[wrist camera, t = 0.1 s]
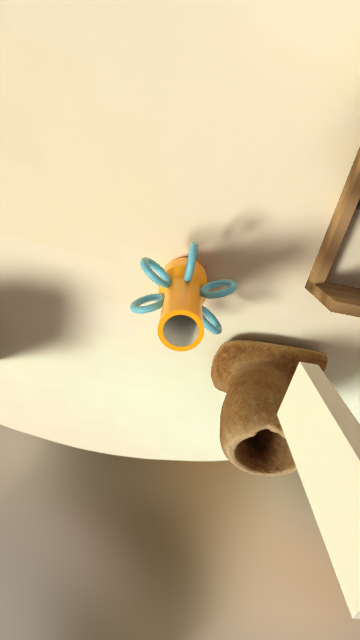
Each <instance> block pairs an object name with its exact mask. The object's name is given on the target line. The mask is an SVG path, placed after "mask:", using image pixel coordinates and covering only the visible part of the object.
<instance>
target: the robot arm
mask: <svg viewBox="0 0 360 640" xmlns="http://www.w3.org/2000/svg"><path fill="white" fill-rule="evenodd" d="M277 416H278V419H279V421H280V424H281V427H282V429H283V432H284V435H285V438H286V440H287V443H288V446H289V448H290V451H291V454H292V456H293V459H294V462H295V464H296V467H297V470H298V472H299V475H300V478H301V481H302V483H303V486H304V489H305V491H306V494H307V497H308V499H309V502H310V505H311V507H312V510H313V513H314V516H315V518H316V521H317V524H318V526H319V529H320V532H321V535H322V537H323V540H324V543H325V545H326V548H327V551H328V553H329V556H330V559H331V562H332V564H333V567H334V570H335V572H336V575H337V578H338V580H339V583H340V586H341V589H342V591H343V594H344V596H345V599H346V602H347V605H348V607H349V610H350V613H351V615H352V618H355V619H360V424H359V423H358V421H357V420H356V418H355V417H354V416H353V414H352V413H351V411H350V410H349V408H348V407H347V405H346V404H345V403H344V401H343V400H342V398H341V397H340V395H339V394H338V393H337V391H336V390H335V388H334V387H333V385H332V384H331V382H330V381H329V380H328V378H327V377H326V375H325V374H324V372H323V371H322V369H321V368H320V367H319V365H316V364H311V363H305V362H299V364H298V366H297V369H296V371H295V373H294V376H293V378H292V380H291V383H290V385H289V387H288V390H287V392H286V394H285V397H284V399H283V401H282V403H281V406H280V408H279V410H278V413H277Z"/></svg>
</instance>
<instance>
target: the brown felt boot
mask: <svg viewBox="0 0 360 640" xmlns="http://www.w3.org/2000/svg"><path fill="white" fill-rule="evenodd" d="M299 362H305V363H311V364H316V365H319V367H320V368H321V369H322V371H323V372H324V370H325V368H326V365H327V357H326V354H325V353H322V352H318V351H313V350H308V349H304V348H298V347H292V346H286V345H280V344H274V343H267V342H259V341H249V340H232V341H228V342H225V343H224V344H223V345H222V346H221V347H220V348H219V350H218V351H217V353H216V355H215V357H214V359H213V363H212V368H211V378H212V381H213V384H214V386H215V387H216V388H217V389H218V390H221V391H223V392H226V393H227V395H226V397H225V400H224V403H223V406H222V410H221V417H220V442H221V447H222V449H223V452H224V454H225V455H226V457H227V458H228V459H229V461H230V462H231V463H232V464H234V465H235V466H236V467H237V468H239V469H241V470H242V471H244V472H248V473H250V474H254V475H260V476H282V475H287V474H290V473H292V472H296V471H298V470H297V467H296V464H295V462H294V459H293V456H292V454H291V451H290V448H289V446H288V443H287V440H286V438H285V435H284V432H283V429H282V427H281V424H280V421H279V419H278V416H277V413H278V410H279V408H280V406H281V403H282V401H283V399H284V397H285V394H286V392H287V390H288V387H289V385H290V383H291V380H292V378H293V376H294V373H295V371H296V369H297V366H298V364H299Z"/></svg>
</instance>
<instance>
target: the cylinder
mask: <svg viewBox="0 0 360 640" xmlns="http://www.w3.org/2000/svg"><path fill="white" fill-rule="evenodd" d="M197 252H198V244H197V243H196V242H192V243H191V245H190V249H189V254H188V258H186V257H182V258H177V259H174V260H172V261H171V262H169V263H168V264H167V265H166V267H165V268H164V269H163V268H162V267H161V266H160V265H159V264H157V263H156V262H155V261H153V260H152V259H150V258H142V259H141V261H140V265H141V267H142V269H143V271H144V272H145V273H146V275H147V276H148V277H149V278H150V279H151V280H152V281H153V282H155V283H156V284H157V285H159V294H151V295H147V296H144V297H141V298H139V299H137V300H135V301H134V302H133V303H132V304H131V306H130V309H131V311H132V312H134V313H148V312H152V311H155V310H157V309H159V308H161V307H162V306H163V307H162V311H161V316H160V320H159V325H158V336H159V338H160V340H161V342H162V343H163V344H164V345H165V346H166V347H168V348H170V349H172V350H175V351H187V350H190V349H193V348H194V347H196V346H197V345H198V344H199V343H200V342H201V340H202V338H203V335H204V327H205V328H207V329H208V330H209V331H210V332H212V333H214V334H220V333H221V331H222V327H221V325H220V323H219V321H218V320H217V318H216V317H215V316H214V315H213V314H212V313H211V312H210V311H209V310H208V309H207V308H205V307H204V306H202V304H203V303H204V301H205V299H206V298H209V299H213V298H221V297H224V296H227V295H230V294H232V293H233V292H234V291H235V290H236V289H237V283H236V282H235V281H233V280H228V279H223V280H216V281H212V282H209V283H208V281H207V275H206V272H205V270H204V268H203V267H202V265H201V264H200V263H199V262H197V261H196V258H197ZM150 267H151V268H153V269H154V270H155V271H156V272H157V273H158V274H159V275H160V276H161V278H160V277H159V276H158V275H157V274H156V273H155V272H154V271H153V270H152V269H151V268H150ZM220 286H229V287H227V288H225V289H222V290H218V291H208V290H210V289H212V288H215V287H220ZM155 300H159V301H157V302H155V303H153V304H150V305H147V306H140V305H141V304H143V303H146V302H149V301H155ZM203 314H204V315H205V316H206V317H207V318H208V319H209V320H210V321H211V322H212V324H211V323H210V322H209V321H208V320H207V319H206V317H205V316H204V315H203Z"/></svg>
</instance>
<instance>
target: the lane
mask: <svg viewBox="0 0 360 640" xmlns="http://www.w3.org/2000/svg"><path fill="white" fill-rule="evenodd" d="M359 199H360V148H359V150H358V153H357V156H356V158H355V161H354V163H353V166H352V168H351V171H350V173H349V176H348V179H347V181H346V184H345V186H344V189H343V191H342V194H341V196H340V199H339V202H338V204H337V207H336V209H335V212H334V214H333V217H332V219H331V222H330V225H329V227H328V230H327V232H326V235H325V237H324V240H323V243H322V245H321V248H320V250H319V253H318V255H317V258H316V260H315V263H314V266H313V268H312V271H311V273H310V276H309V278H308V281H307V283H306V286H305V288H306V289H307V290H308V291H309V292H310V293H311V294H312V295H314V296H315V297H316V298H317V299H318V300H319V301H320V302H321V303H322V304H323V305H324V306H325V307H326V308H328V309H329V310H330V311H331V312H335V313H341V314H346V315H351V316H356V317H360V289H357V288H352V287H347V286H342V285H337V284H332V283H327V282H325V280H326V278H327V276H328V273H329V271H330V268H331V266H332V264H333V261H334V259H335V256H336V254H337V252H338V249H339V247H340V244H341V242H342V240H343V237H344V235H345V232H346V230H347V228H348V225H349V223H350V220H351V218H352V216H353V213H354V211H355V208H356V206H357V204H358V201H359Z"/></svg>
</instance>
